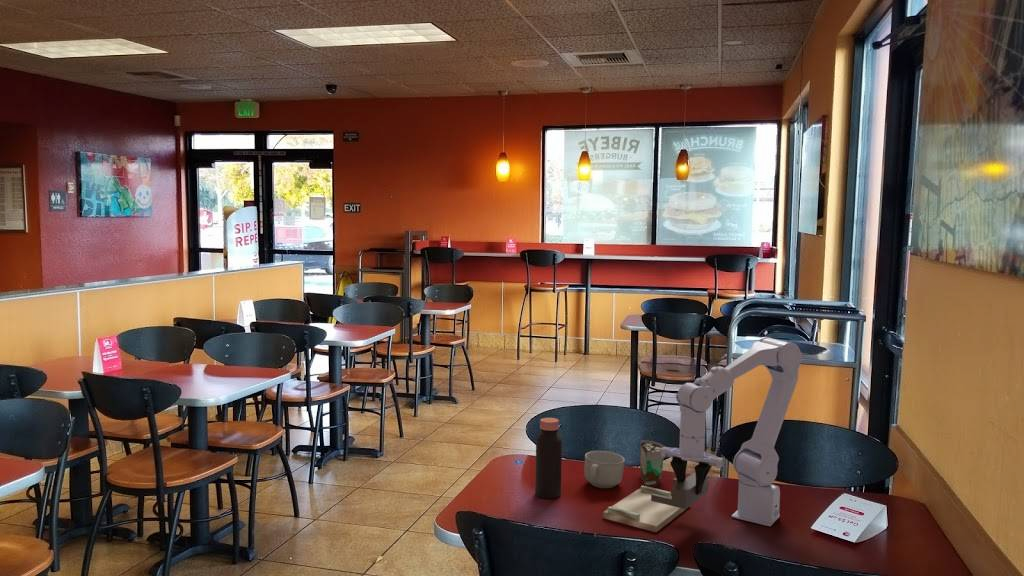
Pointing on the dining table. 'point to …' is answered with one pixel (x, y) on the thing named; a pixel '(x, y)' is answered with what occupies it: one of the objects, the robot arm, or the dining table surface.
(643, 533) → the dining table surface
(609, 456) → the teacup
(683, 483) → the grey boxy piece
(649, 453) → the food container
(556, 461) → the bottle
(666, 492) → the display stand
